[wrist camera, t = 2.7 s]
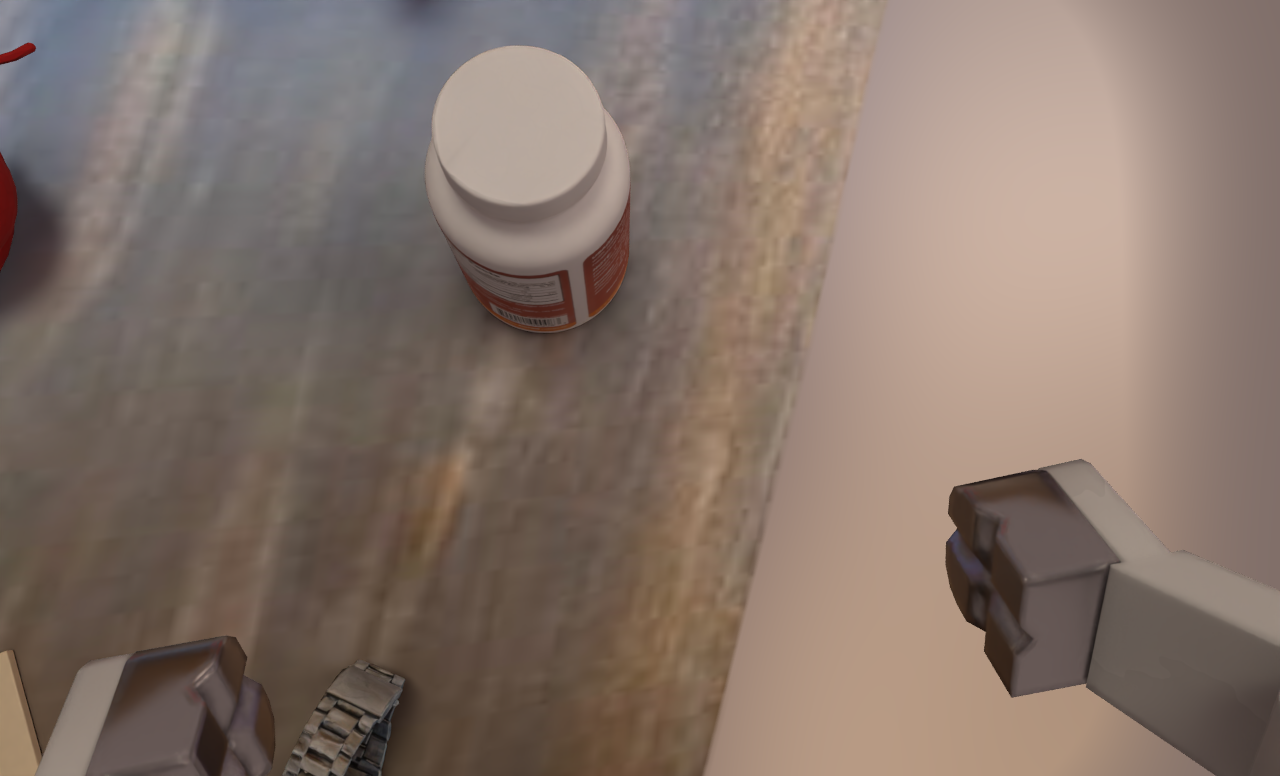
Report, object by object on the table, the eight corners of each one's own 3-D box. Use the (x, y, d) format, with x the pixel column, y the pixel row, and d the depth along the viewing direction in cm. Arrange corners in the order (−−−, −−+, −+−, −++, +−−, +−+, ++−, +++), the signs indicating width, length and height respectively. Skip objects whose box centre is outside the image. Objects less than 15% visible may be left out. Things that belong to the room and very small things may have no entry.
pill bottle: (579, 154, 38) (566, -20, 27) (658, 288, 37) (677, 164, 26) (435, 227, 37) (362, 78, 26) (511, 366, 36) (468, 271, 25)
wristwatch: (329, 713, 35) (253, 836, 31) (368, 623, 32) (291, 743, 28) (406, 751, 35) (341, 878, 31) (452, 664, 32) (388, 790, 28)
